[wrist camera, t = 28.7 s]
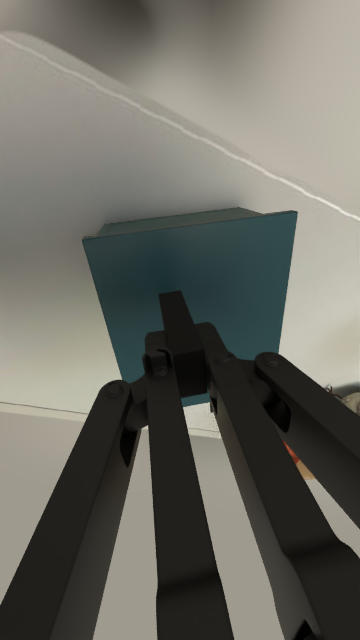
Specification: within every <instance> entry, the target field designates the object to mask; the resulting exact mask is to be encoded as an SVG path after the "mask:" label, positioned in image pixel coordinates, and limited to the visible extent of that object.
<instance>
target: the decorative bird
mask: <svg viewBox="0 0 360 640" xmlns="http://www.w3.org/2000/svg"><path fill="white" fill-rule="evenodd" d="M330 386H331V385H330ZM327 389H328V388H327ZM328 390H329V389H328ZM329 393H330V394H331V395H333V396H337V397H339V398H341V399H343V400H342V403H343V404H344V405H346V406H347V407H348V408H349V409H351V410H352V411H353V412H355V413H356V414H357V415H358V416H360V392H357V393H353V394H350V395H347V396H345V397H341V396H339V395H336V394H332V387H331V390H329Z"/></svg>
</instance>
